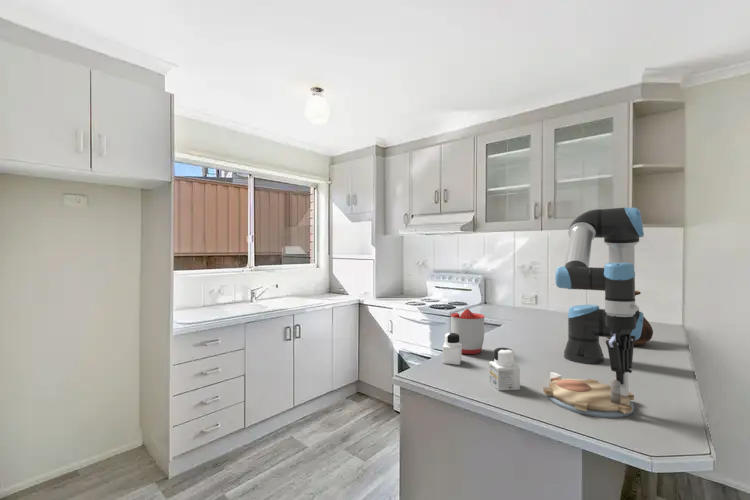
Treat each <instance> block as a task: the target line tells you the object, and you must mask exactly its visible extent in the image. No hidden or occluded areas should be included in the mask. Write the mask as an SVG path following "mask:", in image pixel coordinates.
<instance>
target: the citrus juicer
mask: <svg viewBox="0 0 750 500" xmlns="http://www.w3.org/2000/svg"><path fill="white" fill-rule="evenodd" d="M450 333H456V334H458V335H459V344H461V345H462V355H463V354H464V355H475V354H476V355H478V354H479V353H481V352H482V350H483V345H484V340H485V315H484V314H481V313H476V312H472V311H471V310H470V309H469V308H466V309H465V310H464V311H462V313H461V314H460V313H458V312H453V313H451V314H450Z"/></svg>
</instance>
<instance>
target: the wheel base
mask: <svg viewBox="0 0 750 500" xmlns="http://www.w3.org/2000/svg"><path fill="white" fill-rule="evenodd" d="M549 377H550V379H549V380H550V382H551V378H560V379H563V378H562V375H560V374H559V373H556V372H555V371H552V372H550V375H549ZM546 388H549V385H548V386H547V387H546ZM545 397H546V398H547V399H548V401H550V402H551V403H553V404H555V405H556V406H558V407H561V408H563V409H565V410H567V411H569V412H570V411H571V412H574V413H577V414H581V415H585V416H590V417H596V418H608V419H609V418H610V419H611V418H613V419H615V418H624V417H628V416H631V415H632V414H633V413H634V412H635V404H634V402H632V400H630V406H632V412H630V413H626V414H625V413H622V412H620V411H612V412H607V411H595V410H589V409H587V411H582V410H578V409H575V406H572V405H569V404H567V403H564V402H562V401H560V400H558V399H556V398H555V397H553V396H546V395H545Z"/></svg>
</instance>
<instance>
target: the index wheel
mask: <svg viewBox="0 0 750 500" xmlns="http://www.w3.org/2000/svg"><path fill="white" fill-rule="evenodd" d="M548 386H549V388H547V387H546V386H545V387H544V386H543V393H544V394H545V397H546V396H553V397H555V398H556V399H558V400H560V401H562V402H564V403H567V404H569V405H572V406H575V409H578V410H582V411H587V409H589V410H595V411H607V412H612V411H620V412H622V413H625V414H626V413H630V412H632V406H630V400H631V401H635V395H634V394H633V393H631V392H630V391H628V396H624V395H621V394H620V381H618V380H616V379H610V385H609V384H605V383H602V382H599V380H596V379H591V378H587V379H581V378H562V379H560V378H551V381H550V383H548Z"/></svg>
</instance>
